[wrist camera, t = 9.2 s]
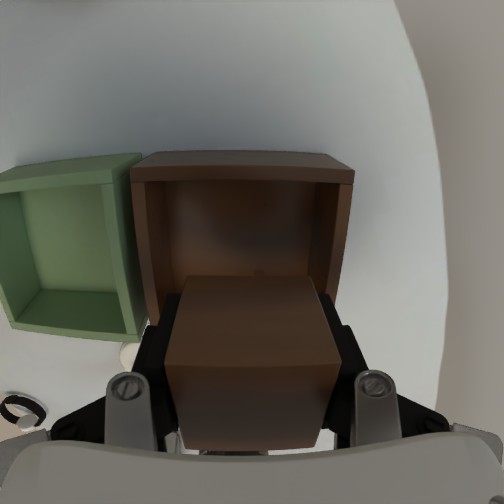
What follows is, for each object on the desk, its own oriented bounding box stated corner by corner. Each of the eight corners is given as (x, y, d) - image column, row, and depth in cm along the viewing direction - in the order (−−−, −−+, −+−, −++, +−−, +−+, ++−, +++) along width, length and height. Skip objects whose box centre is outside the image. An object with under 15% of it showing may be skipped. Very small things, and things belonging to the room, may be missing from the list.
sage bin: (14, 167, 18) (-31, 187, 13) (141, 152, 18) (111, 169, 13) (41, 291, 22) (12, 329, 17) (156, 297, 23) (139, 343, 18)
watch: (43, 435, 27) (57, 423, 30) (29, 400, 27) (44, 390, 30) (3, 429, 26) (17, 419, 30) (-10, 397, 26) (6, 388, 30)
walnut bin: (155, 151, 18) (129, 167, 14) (326, 153, 19) (355, 170, 14) (167, 298, 23) (153, 344, 18) (311, 298, 23) (326, 344, 19)
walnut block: (186, 274, 11) (162, 363, 7) (310, 274, 12) (343, 361, 8) (195, 363, 13) (184, 450, 9) (298, 362, 14) (314, 448, 9)
